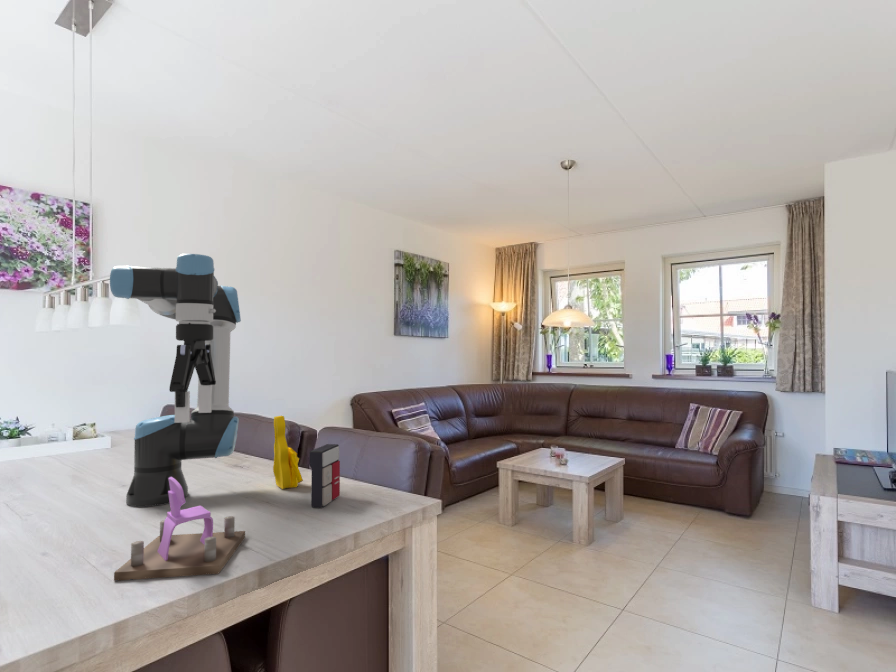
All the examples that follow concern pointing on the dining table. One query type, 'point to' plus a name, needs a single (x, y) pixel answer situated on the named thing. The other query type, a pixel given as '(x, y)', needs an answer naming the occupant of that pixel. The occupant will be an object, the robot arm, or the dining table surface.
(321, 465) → the grey and red block
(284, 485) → the figure statuette
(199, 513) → the toy chair
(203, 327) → the robot arm
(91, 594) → the dining table surface
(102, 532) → the dining table surface
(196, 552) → the peg stand
